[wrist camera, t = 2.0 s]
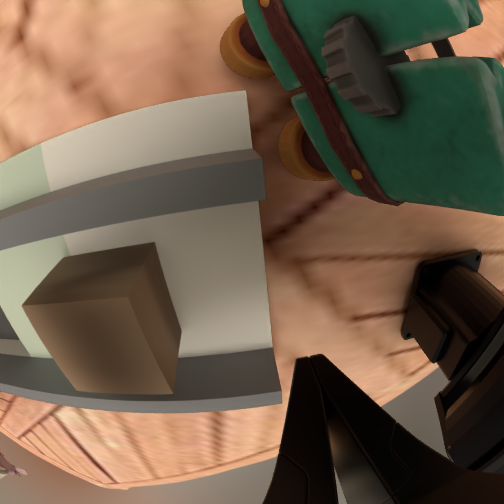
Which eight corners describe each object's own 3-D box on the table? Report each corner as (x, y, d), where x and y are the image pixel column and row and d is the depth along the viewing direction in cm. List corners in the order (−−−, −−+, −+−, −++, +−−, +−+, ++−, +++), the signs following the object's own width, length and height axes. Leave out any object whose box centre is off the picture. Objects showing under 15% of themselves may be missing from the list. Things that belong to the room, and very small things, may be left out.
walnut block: (154, 242, 11) (127, 296, 8) (182, 331, 14) (173, 394, 10) (63, 257, 11) (21, 305, 8) (99, 336, 14) (76, 390, 10)
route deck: (242, 95, 11) (253, 78, 6) (271, 361, 18) (283, 423, 14) (-65, 209, 10) (-103, 235, 6) (8, 363, 17) (-11, 400, 13)
